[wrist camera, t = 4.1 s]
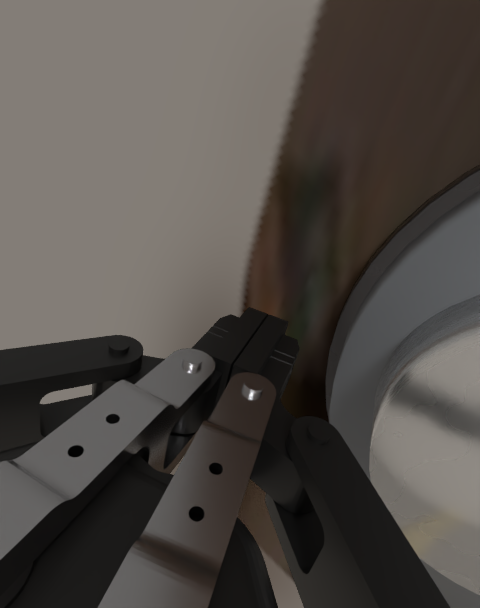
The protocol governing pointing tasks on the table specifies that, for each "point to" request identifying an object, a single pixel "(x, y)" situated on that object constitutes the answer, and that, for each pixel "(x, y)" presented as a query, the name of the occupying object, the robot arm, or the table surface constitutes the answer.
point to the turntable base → (386, 255)
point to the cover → (433, 441)
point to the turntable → (406, 332)
